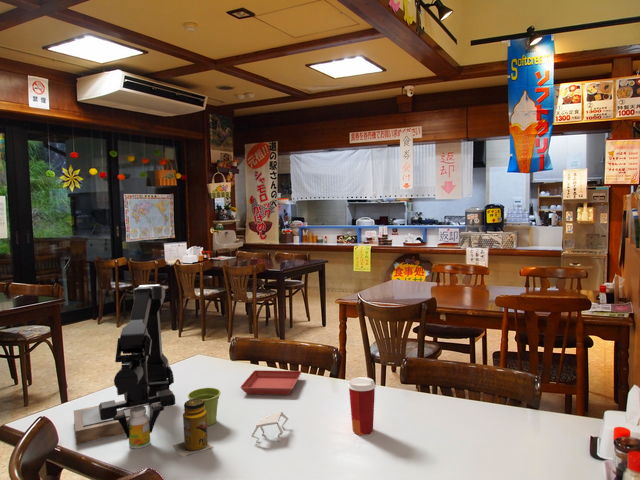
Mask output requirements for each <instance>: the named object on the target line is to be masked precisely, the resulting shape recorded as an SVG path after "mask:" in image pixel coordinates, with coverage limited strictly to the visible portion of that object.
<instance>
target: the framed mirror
mask: <svg viewBox="0 0 640 480" xmlns="http://www.w3.org/2000/svg"><path fill="white" fill-rule="evenodd" d="M124 402H126V400H125V399H124V400H120V401H115V403H116V404H119V403H124ZM130 410H131V409H127V410H124V413H125V416H126V420H127V426H128V419H129V418H130V417H131V416H130ZM73 420H74V421H73V423H74V424H73V425H74V431H75V433H74V434H75V442H76V443H75V445H76V446H77V445H80V444H85V443H89V442H94V441H99V440H102V439H107V438H111V437H115V436H119V435H126V434H125V431H124V429H123V427H122V425H121V424H120V423H119V421H118V420H116V421H114V420H113V418H111V419H106V420H101V419H100V415H99V405H95V406H89V407H86V408H80V409H76V410H73Z"/></svg>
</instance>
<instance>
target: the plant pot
mask: <svg viewBox="0 0 640 480" xmlns="http://www.w3.org/2000/svg"><path fill="white" fill-rule="evenodd" d="M221 393H222V392H221V390H220V389H219V388H215V387H202V388H201V387H200V388H196V389H194V390H191V391H190V392H189V393H188V394H187V398H188V400H191V399H202V400H203V401H204V402H205V410H206V414H207V426H212V425H213V424H215V423H216V421H217V414H218V413H217V412H218V404H219V403H218V402H219V399H220V395H221Z"/></svg>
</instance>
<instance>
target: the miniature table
mask: <svg viewBox="0 0 640 480" xmlns="http://www.w3.org/2000/svg"><path fill="white" fill-rule="evenodd" d="M281 417H283V418H284V419H285V420H284V422H283V424H282V425H280V424H279V421H280V420H281V419H280V418H281ZM288 420H289V418H288V417H287V416H286V414H284V412H282V411H281V412H276V413H271V414H269V415H267V416H264V417H261V419H260V420H259V421H258V423H257V424H256V425H255V429H254V430H253V433H252V434H251V437H252V438H254V439H257V440H256V441H255V443H258V441H259V440H260V438H259V437H257V436H255V434H256V432H257V431H258V429H260V431H261V432H262V434H261V436H263V435H264V434H265V429H264V428H263V427H267V426H271V425H276V426H277V428H278V431H279V433H278V434H277V438H278V440H279V442H281V441H282V438H281V435H283V433H284V432H283V430H284V431H285V430H286V428H285V427H284V425H285V424H286V423H287V421H288Z"/></svg>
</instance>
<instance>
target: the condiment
mask: <svg viewBox="0 0 640 480" xmlns="http://www.w3.org/2000/svg"><path fill="white" fill-rule="evenodd" d="M183 406H184V407H183V408H184V409H183V411H184V412H183V413H182V422H183V423H182V424H183V442H179V443H175V444H172V446H173V448H174V449H175V451H176V452H177V453H178V455H180V457H185V456H189V455H191V454H195V453H198V452H202V451H205V450H209V449H211V448H213V447H214V446H213V445H212V444H211V443H210V442H209V441H208V440H209V439H208V435H209V434H208V425H207V414H206V410H205V402H204V401H203V400H202V399H191V400H190V399H188V400H186V401H185V402H184V405H183Z"/></svg>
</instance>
